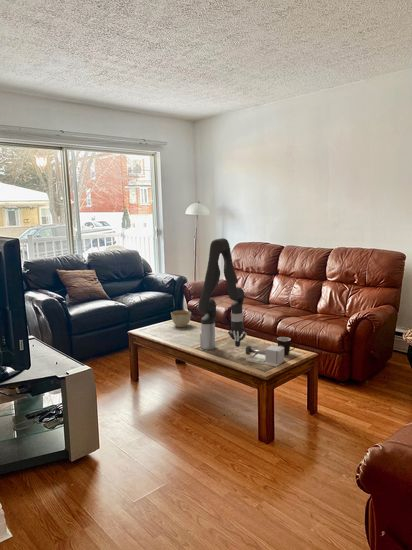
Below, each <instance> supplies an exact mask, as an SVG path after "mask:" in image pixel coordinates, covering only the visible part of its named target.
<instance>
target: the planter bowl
mask: <svg viewBox="0 0 412 550" xmlns="http://www.w3.org/2000/svg"><path fill="white" fill-rule="evenodd" d="M170 316H171V319H172V322H173V324H174V325H175V327H176V328H186V327H188V324H189V323H190V321H191V318H192V312H191V311H190V310H174V311H172V312H170Z"/></svg>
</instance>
